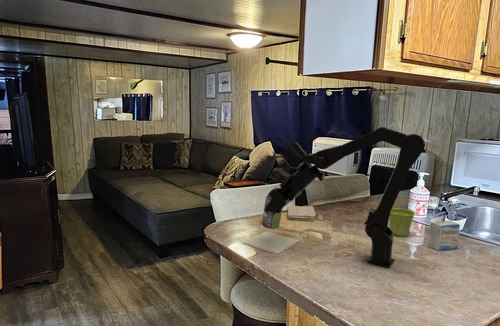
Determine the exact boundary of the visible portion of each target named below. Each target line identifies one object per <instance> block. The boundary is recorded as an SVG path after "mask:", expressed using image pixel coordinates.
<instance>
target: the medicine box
mask: <svg viewBox="0 0 500 326" xmlns="http://www.w3.org/2000/svg"><path fill="white" fill-rule="evenodd" d="M460 226H461V224H460V223H458V222H455V221H453V220H452V221H451V220H445V221H434V222H432V221H431V222H430V226H429V237H428V238H429V239H428V247H429V248H432V249H434V250H436V251H438V252H441V251H442V252H443V251H451V250H457V249H458V246H459V238H460V237H459V236H460V228H461V227H460Z"/></svg>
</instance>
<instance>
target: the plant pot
mask: <svg viewBox="0 0 500 326" xmlns="http://www.w3.org/2000/svg"><path fill="white" fill-rule="evenodd" d="M414 216H416V212H415V211H413V210H411V209H407V208H401V207H396V208H395V207H394V208H393V207H392V209H391V212H390V216H389V226H390V227H389V228H390V229H391V231H392V232H393V236H394V235H396V236H397V237H407V236H409V234H410V231H411V226H412V221H413V219H414Z"/></svg>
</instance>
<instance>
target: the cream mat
mask: <svg viewBox="0 0 500 326" xmlns="http://www.w3.org/2000/svg"><path fill="white" fill-rule="evenodd" d="M299 243H300V240H299V239H296V238H292V237H288V236H284V235H281V234H278V233H273V232H269V231H264V232H262V233H260V234H258V235H256V236H255V235H254V236H253V237H251V238H249V239H247V240H244V241H243V242H242V244H243V245H246V246H250V247H252V248H255V249H258V250H263V251H266V252H270V253H272V254H275V255H280V253H283V252H285V251H286V250H287V249H289V248H291V247H293V246H296V245H297V244H299Z"/></svg>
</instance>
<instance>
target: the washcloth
mask: <svg viewBox="0 0 500 326" xmlns="http://www.w3.org/2000/svg"><path fill="white" fill-rule="evenodd" d="M286 209H287V221H293V222H296V221H297V222H316V218H315V217H317V216H316V211H315V208H314V206H311V205H303V206H299V205H287V208H286Z"/></svg>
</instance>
